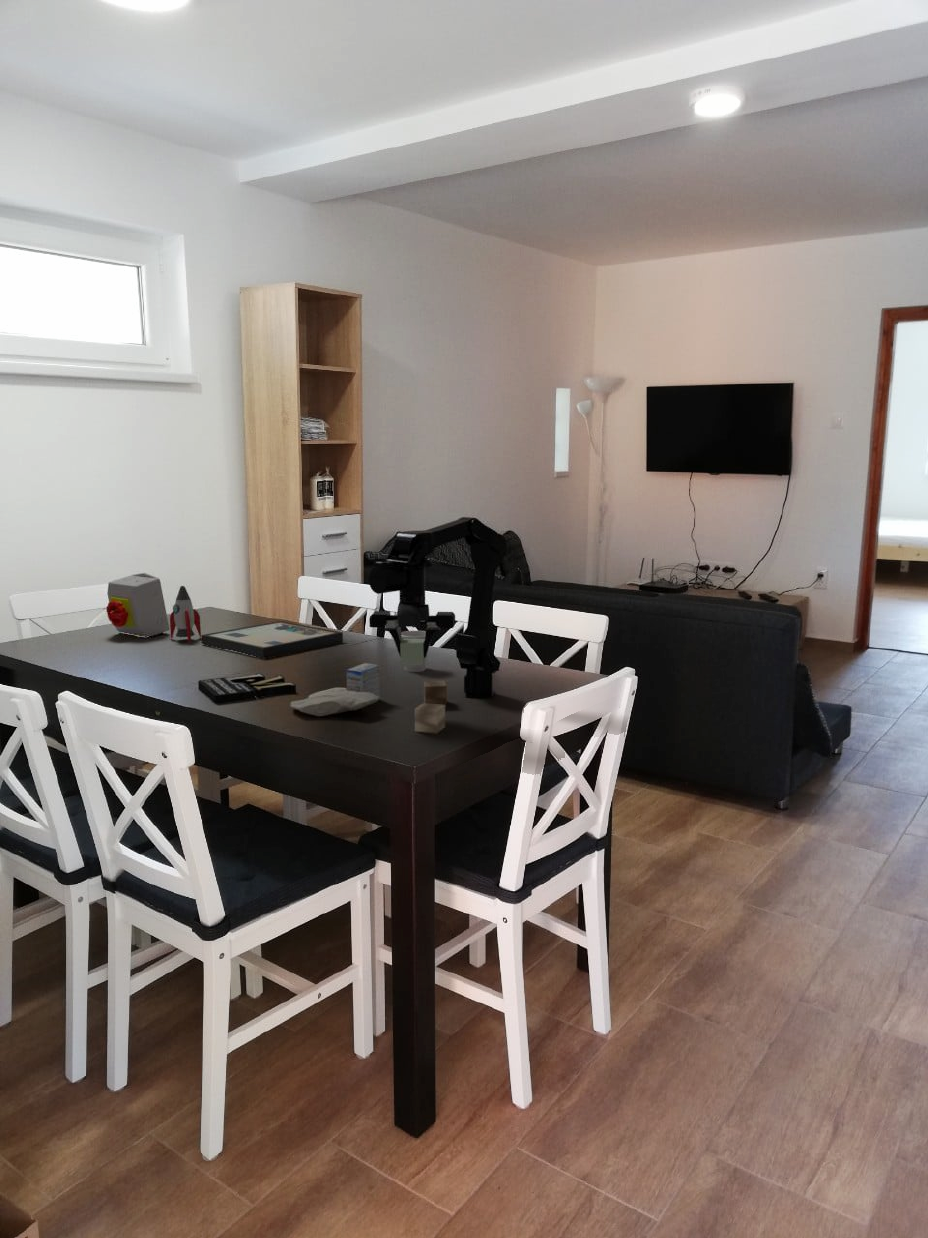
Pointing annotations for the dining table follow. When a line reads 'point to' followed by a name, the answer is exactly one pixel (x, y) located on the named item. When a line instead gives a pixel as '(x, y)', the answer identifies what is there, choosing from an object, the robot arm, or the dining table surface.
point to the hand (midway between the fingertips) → (413, 657)
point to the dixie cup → (414, 636)
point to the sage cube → (412, 652)
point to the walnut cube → (435, 692)
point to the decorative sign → (244, 688)
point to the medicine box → (364, 679)
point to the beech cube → (429, 718)
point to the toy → (184, 616)
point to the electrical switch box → (137, 605)
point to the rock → (333, 702)
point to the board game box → (273, 639)
